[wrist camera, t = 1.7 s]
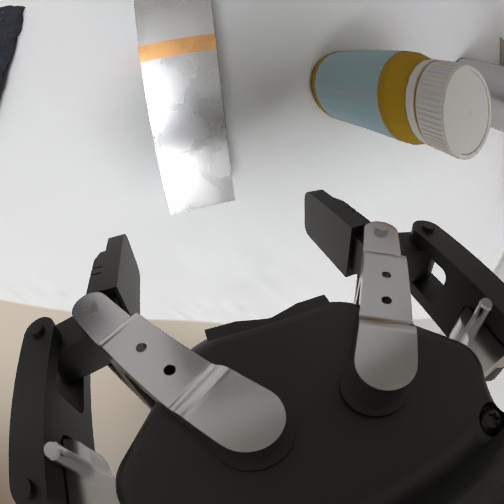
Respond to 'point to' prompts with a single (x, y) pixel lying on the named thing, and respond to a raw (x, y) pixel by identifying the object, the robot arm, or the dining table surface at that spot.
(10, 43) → the dark slate chunk
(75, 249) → the dining table surface
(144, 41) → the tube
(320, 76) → the bottle
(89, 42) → the dining table surface
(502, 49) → the skyscraper
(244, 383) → the robot arm
